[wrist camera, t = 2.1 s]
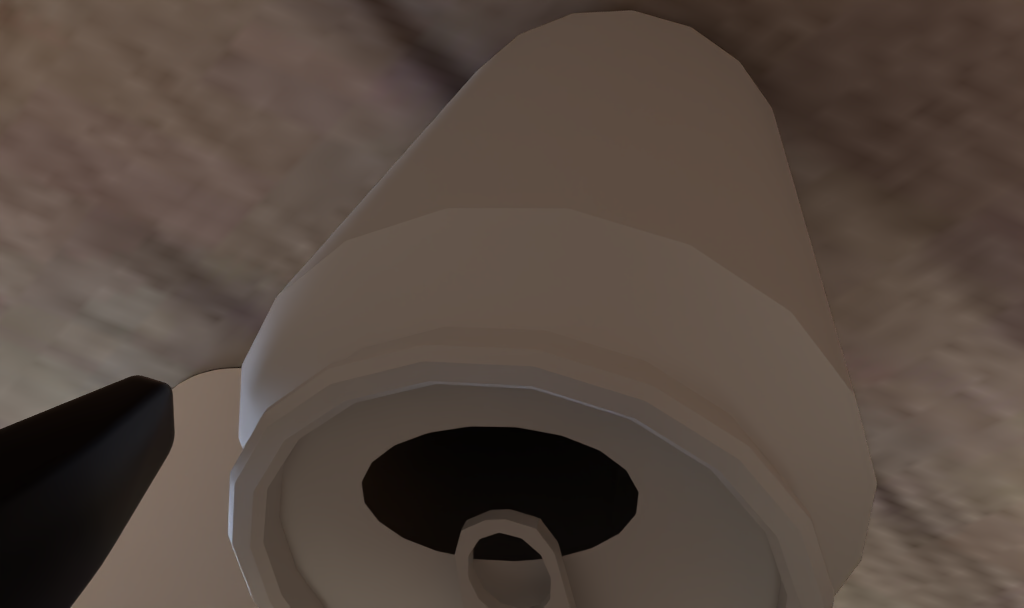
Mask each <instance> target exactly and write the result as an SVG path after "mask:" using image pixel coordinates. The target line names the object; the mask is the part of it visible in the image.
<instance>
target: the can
mask: <svg viewBox="0 0 1024 608" xmlns="http://www.w3.org/2000/svg"><path fill="white" fill-rule="evenodd" d="M239 440H240V443H241V446H242V449H243V450H242V452H241V454H240V456H239V457H238V459H237V461H236V463H235V465H234V466H233V468H232V470H231V472H230V486H229V513H228V537H229V540H230V542H231V545H232V547H233V550H234V553H235V555H236V558H237V561H238V563H239V566H240V569H241V571H242V574H243V577H244V579H245V582H246V584H247V587H248V590H249V592H250V595H251V597H252V599H253V601H254V602H255V604H256V605H257V606H258V608H832V607H833V602H834V596H835V595H836V593H837V592H838V591H839V589H840V588H841V586H842V585H843V584H844V582H845V581H846V580H847V578H848V577H849V576H850V574H851V573H852V572H853V570H854V569H855V568H856V566H857V565H858V564H859V562H860V561H861V558H862V553H863V549H864V544H865V539H866V534H867V530H868V525H869V520H870V515H871V510H872V506H873V501H874V496H875V491H876V487H877V480H876V476H875V472H874V468H873V464H872V460H871V456H870V452H869V449H868V445H867V441H866V437H865V433H864V429H863V425H862V421H861V417H860V413H859V409H858V405H857V401H856V397H855V394H854V390H853V387H852V383H851V380H850V376H849V373H848V369H847V366H846V362H845V359H844V355H843V352H842V349H841V345H840V342H839V338H838V335H837V331H836V328H835V324H834V321H833V317H832V314H831V310H830V307H829V303H828V300H827V297H826V293H825V290H824V286H823V283H822V279H821V276H820V272H819V269H818V265H817V262H816V258H815V255H814V251H813V248H812V244H811V241H810V238H809V234H808V231H807V227H806V224H805V220H804V217H803V213H802V210H801V206H800V203H799V199H798V196H797V192H796V189H795V186H794V182H793V179H792V175H791V172H790V168H789V165H788V161H787V158H786V154H785V151H784V147H783V144H782V140H781V137H780V134H779V130H778V127H777V123H776V120H775V116H774V113H773V109H772V107H771V106H770V105H769V103H768V102H767V100H766V99H765V97H764V96H763V94H762V93H761V92H760V90H759V89H758V87H757V86H756V84H755V83H754V82H753V80H752V79H751V77H750V76H749V74H748V73H747V71H746V70H745V69H744V67H743V66H742V64H741V63H740V61H738V60H737V59H735V58H734V57H733V56H731V55H730V54H728V53H727V52H725V51H724V50H723V49H721V48H720V47H718V46H717V45H716V44H714V43H713V42H711V41H710V40H709V39H707V38H706V37H704V36H703V35H701V34H700V33H699V32H697V31H696V30H694V29H693V28H692V27H689V26H686V25H682V24H679V23H675V22H672V21H668V20H665V19H661V18H658V17H654V16H651V15H647V14H644V13H640V12H637V11H633V10H629V11H608V12H588V13H572V14H570V15H567V16H565V17H562V18H560V19H557V20H554V21H552V22H549V23H547V24H544V25H542V26H539V27H537V28H534V29H532V30H529V31H527V32H524V33H522V34H519V35H518V36H517V37H516V38H514V39H513V40H512V41H511V42H510V43H509V44H507V45H506V46H505V47H504V48H503V49H502V50H500V51H499V52H498V53H497V54H496V55H495V56H493V57H492V58H491V59H490V60H489V61H488V62H486V63H485V64H484V65H483V66H482V67H481V68H480V69H478V70H477V71H476V72H475V73H474V75H473V76H472V77H471V78H470V79H469V80H468V81H467V83H466V84H465V85H464V86H463V87H462V88H461V89H460V90H459V92H458V93H457V94H456V95H455V96H454V97H453V98H452V99H451V101H450V102H449V103H448V104H447V105H446V106H445V107H444V108H443V110H442V111H441V112H440V113H439V114H438V115H437V116H436V117H435V119H434V120H433V121H432V122H431V123H430V124H429V125H428V127H427V128H426V129H425V130H424V131H423V132H422V133H421V134H420V136H419V137H418V138H417V139H416V140H415V141H414V142H413V143H412V145H411V146H410V147H409V148H408V149H407V150H406V151H405V152H404V154H403V155H402V156H401V157H400V158H399V159H398V160H397V161H396V163H395V164H394V165H393V166H392V167H391V168H390V169H389V170H388V172H387V173H386V174H385V175H384V176H383V177H382V178H381V180H380V181H379V182H378V183H377V184H376V185H375V186H374V187H373V189H372V190H371V191H370V192H369V193H368V194H367V195H366V196H365V198H364V199H363V200H362V201H361V202H360V203H359V204H358V205H357V207H356V208H355V209H354V210H353V211H352V212H351V213H350V214H349V216H348V217H347V218H346V219H345V220H344V221H343V222H342V224H341V225H340V226H339V227H338V228H337V229H336V230H335V231H334V233H333V234H332V235H331V236H330V237H329V238H328V239H327V240H326V242H325V243H324V244H323V245H322V246H321V247H320V248H319V249H318V251H317V252H316V253H315V254H314V255H313V256H312V257H311V258H310V260H309V261H308V262H307V263H306V264H305V265H304V266H303V267H302V269H301V270H300V271H299V272H298V273H297V274H296V275H295V277H294V278H293V279H292V280H291V281H290V282H289V283H288V284H287V286H286V287H285V288H284V289H283V290H282V291H281V292H280V293H279V295H278V296H277V297H276V299H275V301H274V303H273V305H272V307H271V309H270V311H269V313H268V315H267V317H266V318H265V320H264V322H263V324H262V326H261V328H260V330H259V332H258V334H257V336H256V338H255V340H254V342H253V344H252V346H251V348H250V350H249V352H248V354H247V356H246V358H245V360H244V362H243V364H242V368H241V391H240V414H239Z"/></svg>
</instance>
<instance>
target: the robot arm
mask: <svg viewBox="0 0 1024 608" xmlns="http://www.w3.org/2000/svg"><path fill="white" fill-rule="evenodd" d="M174 436H175V427H174V405H173V392H172V389H171V387H170V386H169V385H168V384H166V383H164V382H161V381H157V380H154V379H151V378H148V377H144V376H139V375H136V376H131V377H128V378H126V379H123V380H121V381H118V382H116V383H113V384H111V385H108V386H106V387H103V388H101V389H98V390H96V391H93V392H91V393H89V394H86V395H84V396H81V397H79V398H76V399H74V400H71V401H69V402H66V403H64V404H61V405H59V406H56V407H54V408H51V409H49V410H47V411H44V412H42V413H39V414H37V415H34V416H32V417H29V418H27V419H24V420H22V421H19V422H17V423H14V424H12V425H10V426H7V427H5V428H2V429H0V608H71V606H72V605H73V604H74V602H75V601H76V600H77V598H78V597H79V596H80V594H81V593H82V592H83V590H84V589H85V588H86V586H87V585H88V584H89V582H90V581H91V580H92V578H93V577H94V575H95V574H96V573H97V571H98V570H99V568H100V567H101V566H102V564H103V563H104V561H105V559H106V558H107V556H108V555H109V553H110V551H111V550H112V548H113V547H114V545H115V543H116V542H117V540H118V538H119V537H120V535H121V533H122V532H123V530H124V528H125V527H126V525H127V523H128V522H129V520H130V518H131V517H132V515H133V513H134V512H135V510H136V508H137V507H138V505H139V503H140V502H141V500H142V498H143V497H144V495H145V493H146V491H147V490H148V488H149V486H150V485H151V483H152V481H153V480H154V478H155V476H156V475H157V473H158V471H159V470H160V468H161V466H162V465H163V463H164V461H165V460H166V458H167V456H168V454H169V453H170V450H171V448H172V445H173V442H174Z"/></svg>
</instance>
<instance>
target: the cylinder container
mask: <svg viewBox="0 0 1024 608" xmlns="http://www.w3.org/2000/svg"><path fill="white" fill-rule="evenodd" d="M240 391H241V368H229V369H218V370H213V371H209V372H205V373H201V374H198V375H195V376H193V377H191V378H189V379H187V380H185V381H183V382H182V383H180V384H178V385H177V386H176V387H174V388H173V389H172V392H173V405H174V427H175V436H174V442H173V445H172V448H171V450H170V453H169V454H168V456H167V458H166V460H165V461H164V463H163V465H162V466H161V468H160V470H159V471H158V473H157V475H156V476H155V478H154V480H153V481H152V483H151V485H150V486H149V488H148V490H147V491H146V493H145V495H144V497H143V498H142V500H141V502H140V503H139V505H138V507H137V508H136V510H135V512H134V513H133V515H132V517H131V518H130V520H129V522H128V523H127V525H126V527H125V528H124V530H123V532H122V533H121V535H120V537H119V538H118V540H117V542H116V543H115V545H114V547H113V548H112V550H111V551H110V553H109V555H108V556H107V558H106V559H105V561H104V563H103V564H102V566H101V567H100V568H99V570H98V571H97V573H96V574H95V575H94V577H93V578H92V580H91V581H90V582H89V584H88V585H87V586H86V588H85V589H84V590H83V592H82V593H81V594H80V596H79V597H78V598H77V600H76V601H75V602H74V604H73V605H72V606H71V608H258V606H257V605H256V604H255V602H254V601H253V599H252V597H251V595H250V592H249V590H248V587H247V584H246V582H245V579H244V577H243V574H242V571H241V569H240V566H239V563H238V561H237V558H236V555H235V553H234V550H233V547H232V545H231V542H230V540H229V537H228V513H229V486H230V472H231V470H232V468H233V466H234V465H235V463H236V461H237V459H238V457H239V456H240V454H241V452H242V450H243V449H242V446H241V443H240V440H239V414H240Z"/></svg>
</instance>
